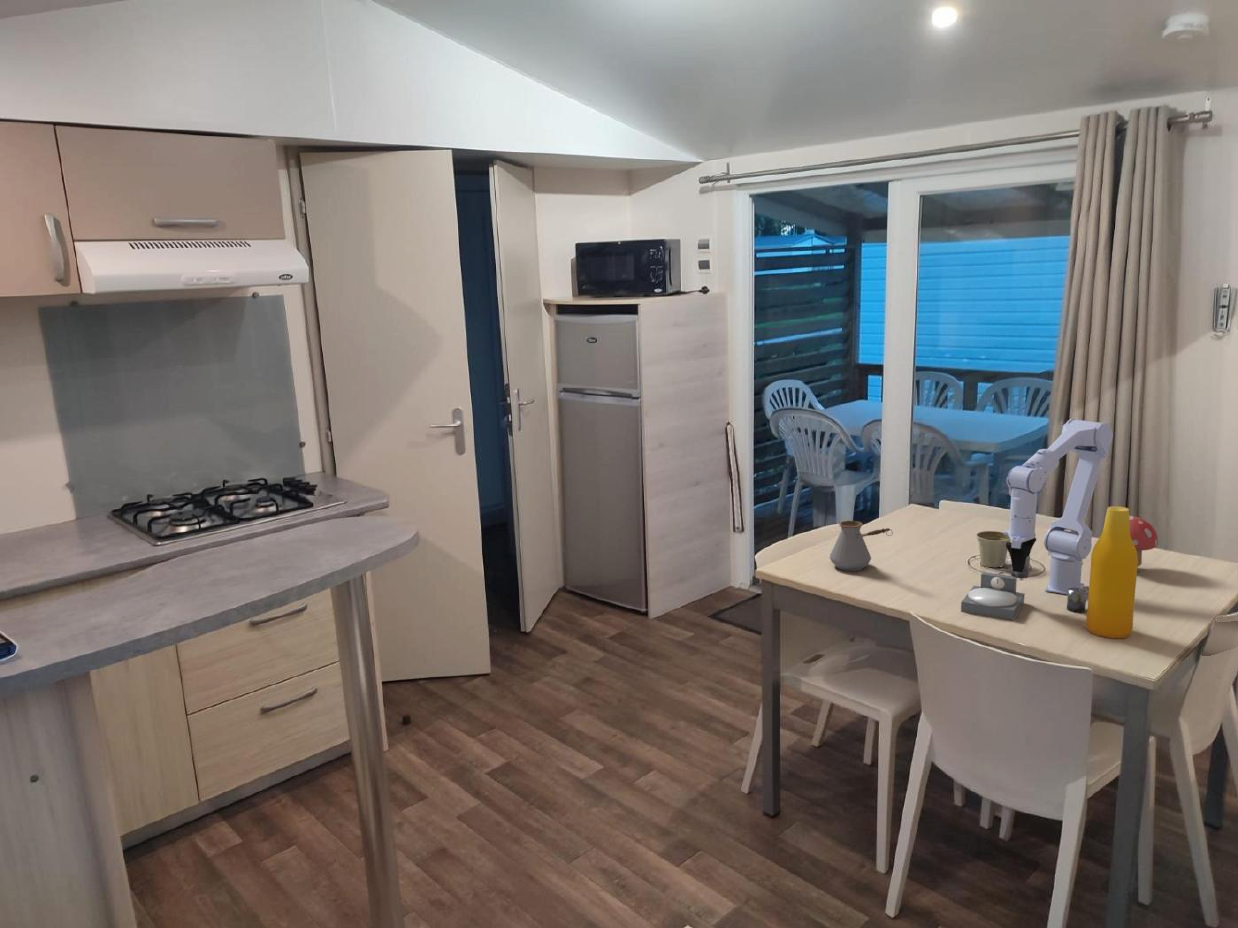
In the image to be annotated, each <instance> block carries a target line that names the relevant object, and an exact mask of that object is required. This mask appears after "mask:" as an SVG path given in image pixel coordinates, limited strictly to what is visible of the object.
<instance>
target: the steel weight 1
mask: <svg viewBox="0 0 1238 928" xmlns="http://www.w3.org/2000/svg"><path fill="white" fill-rule="evenodd" d="M1030 561H1031V557H1030V555H1029V556H1028V555H1027V558H1026V561H1025V566H1024V569H1023V572H1015V571H1013V568H1012V564H1011V565H1010V567H1011V568H1010V569H1011V570H1010V576H1013V577H1015V578H1017V579H1028V578H1029V577H1030V564H1031V563H1030Z"/></svg>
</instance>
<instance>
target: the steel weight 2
mask: <svg viewBox="0 0 1238 928" xmlns="http://www.w3.org/2000/svg"><path fill="white" fill-rule="evenodd" d="M1087 592H1088V591H1087V590H1086V589H1084V588H1083V589H1082V588H1069V589H1068V594H1067V599H1066V600H1067V601H1066V610H1067V611H1068V612H1071V613H1075V614H1083V613H1086V609H1087V608H1086V606H1087V605H1086V604H1087Z"/></svg>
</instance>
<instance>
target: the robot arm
mask: <svg viewBox="0 0 1238 928" xmlns="http://www.w3.org/2000/svg"><path fill="white" fill-rule="evenodd" d="M1113 437H1114V434H1113V431H1112V428H1111V426H1110V424H1109V423H1108V422H1104V421H1103V422H1099V421H1098V422H1097V421H1088V420H1083V419H1082V420H1081V419H1075V418H1070V419H1069V420H1067V421H1066V423H1063V425H1062V428H1061V434H1060V435H1059V436H1058V437H1057V439H1055V441H1053V443H1051V445H1049V447H1048V448H1042V449H1038V450H1037V451H1036V453H1034V454H1033V455H1032V456H1031V457H1030V458H1028V459H1027V461H1025V462H1024V463H1023V464H1022V465H1015V466H1014V467H1012V468H1011V469H1010V470H1009V471H1008V474H1007V477H1006V478H1005V479H1006V485H1007V487H1008V494H1009V496H1010V508H1009V510H1010V511H1009V512H1010V513H1009V525H1008V527H1009V528H1008V529H1005V530H1004V531H1003V532H1004V534H1005V535H1008V536H1009V537H1010V539H1011V541H1010V542H1007V543H1006V548H1007V553H1008V554H1009V557H1010V563H1011V565H1012V568H1013V571H1015V572H1023V569H1024V566H1025V561H1026V558H1027V555H1028V556H1030V554H1031V552H1032V549H1033V547H1034V545H1035V543H1036V541H1037V537H1036V532H1035V531H1036V518H1037V503H1038V502H1037V501H1038V492H1040V491H1041V490H1042V488H1043V486H1044V483H1045V482H1046V481H1047V477H1048V476H1049V475H1050V474H1051V473H1052V472H1054V471H1055V470H1056V468H1058V467H1059V465H1060V459H1061V458H1063V456H1065V455H1066V454H1068V453H1069V452H1071V451H1072V452H1073V453H1075V454H1076V455H1077V457H1078V462H1077V466H1076V468H1075V471H1074V472H1075V473H1074V476H1073V479H1072V481H1071V487H1070V490H1069V492H1068V497H1067V500H1066V502H1065V506H1064V510H1063V512H1062V513H1063V514H1062V517H1059V518H1058V519H1055V520H1053V521H1052V522H1051V523H1050V526H1049V528H1048V530H1047V531H1046V533H1045V534H1044V537H1043V545H1044V548H1045V550H1046V551H1047V555H1048V556H1050V563H1049V564H1050V566H1049V580H1048V581H1049V582H1048V583H1047V585H1046V586H1045V588H1044V591H1045V592H1047V593H1048V592H1049V593H1055V594H1062V595H1063V594H1064V595H1068V589H1069V588H1082V589H1084V587H1085V583H1084V582H1081V579H1082V567H1083V560H1084V559H1086V558H1087V557H1088V556H1089V555H1090V553H1091V552H1092V539H1093V538H1092V537H1093V534H1094V533H1093V531H1092V530H1091V529H1090V527H1089V526H1088V525H1087V524H1086V518H1087V514H1088V511H1089V508H1090V504H1091V501H1092V498H1093V494H1094V490H1095V489H1096V488H1095V487H1096V484H1097V481H1098V477H1099V474H1100V471H1101V467H1102V465H1103V464H1102V463H1103V459H1104V458H1107V457H1108V455H1109V451H1110V448H1111V445H1112V441H1113Z"/></svg>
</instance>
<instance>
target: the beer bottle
mask: <svg viewBox="0 0 1238 928" xmlns="http://www.w3.org/2000/svg"><path fill="white" fill-rule="evenodd" d="M1129 516H1130V509H1129V508H1128V507H1125V506H1117V505H1116V506H1114V505H1113V506H1107V510H1106V513H1105V518H1104V524H1103V529H1102V533H1101V535H1100V537H1098V539H1097V541H1096V543H1095V544H1094V546H1093V549H1092V550H1091V555H1090V556H1091V557H1090V568H1089V569H1090V571H1089V583H1088V585H1089V586H1088V597H1087V599H1088V600H1087V613H1086V620H1085V625H1086V628H1087V631H1089V632H1090V633H1091V634H1093V635H1096V636H1098V637H1102V638H1108V639H1125V638H1128V637H1130V635H1131V634H1132V632H1133V626H1134V623H1133V622H1134V610H1135V600H1136V599H1135V598H1136V589H1137V588H1136V587H1137V574H1138V567H1139V566H1138V556H1137V551H1136V548H1135V546H1134V543H1133V541H1132V539H1131V536H1130V518H1129ZM1137 566H1138V567H1137Z"/></svg>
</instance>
